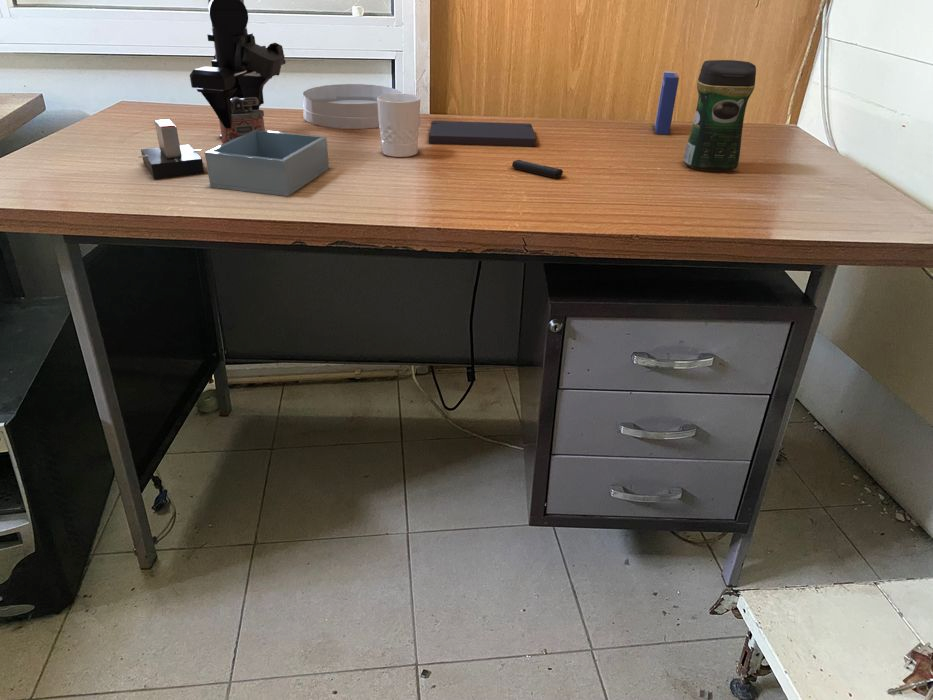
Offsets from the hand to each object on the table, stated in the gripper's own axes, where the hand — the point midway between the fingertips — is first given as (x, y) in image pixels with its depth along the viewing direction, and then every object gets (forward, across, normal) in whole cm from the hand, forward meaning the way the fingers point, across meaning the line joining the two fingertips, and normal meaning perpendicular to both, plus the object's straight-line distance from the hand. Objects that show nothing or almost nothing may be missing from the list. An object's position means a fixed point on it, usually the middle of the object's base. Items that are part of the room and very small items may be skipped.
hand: (241, 122), depth 126 cm
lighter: (+6, 0, 0) cm, 6 cm away
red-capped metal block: (+3, -12, +7) cm, 14 cm away
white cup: (+6, +11, -26) cm, 29 cm away
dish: (+6, +35, -7) cm, 36 cm away
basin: (+6, -11, -11) cm, 17 cm away
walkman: (+6, +48, -74) cm, 88 cm away
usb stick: (+6, +7, -53) cm, 54 cm away
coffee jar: (+6, +22, -83) cm, 86 cm away
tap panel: (+6, -12, +7) cm, 15 cm away
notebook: (+6, +28, -38) cm, 48 cm away
